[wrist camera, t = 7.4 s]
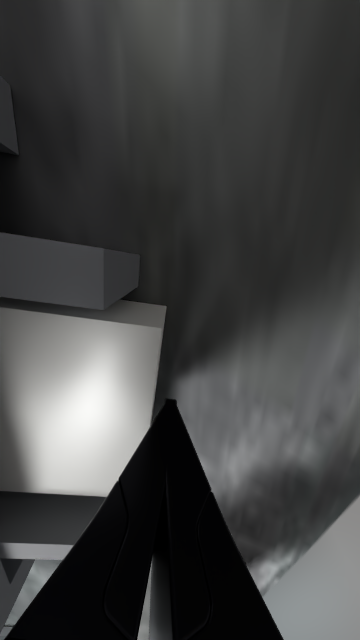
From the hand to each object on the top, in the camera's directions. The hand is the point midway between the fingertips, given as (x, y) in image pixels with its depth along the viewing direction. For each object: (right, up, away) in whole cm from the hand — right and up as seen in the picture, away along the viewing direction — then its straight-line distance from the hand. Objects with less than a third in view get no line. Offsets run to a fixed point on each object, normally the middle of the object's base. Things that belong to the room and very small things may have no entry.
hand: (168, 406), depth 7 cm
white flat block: (-6, +1, +1) cm, 6 cm away
